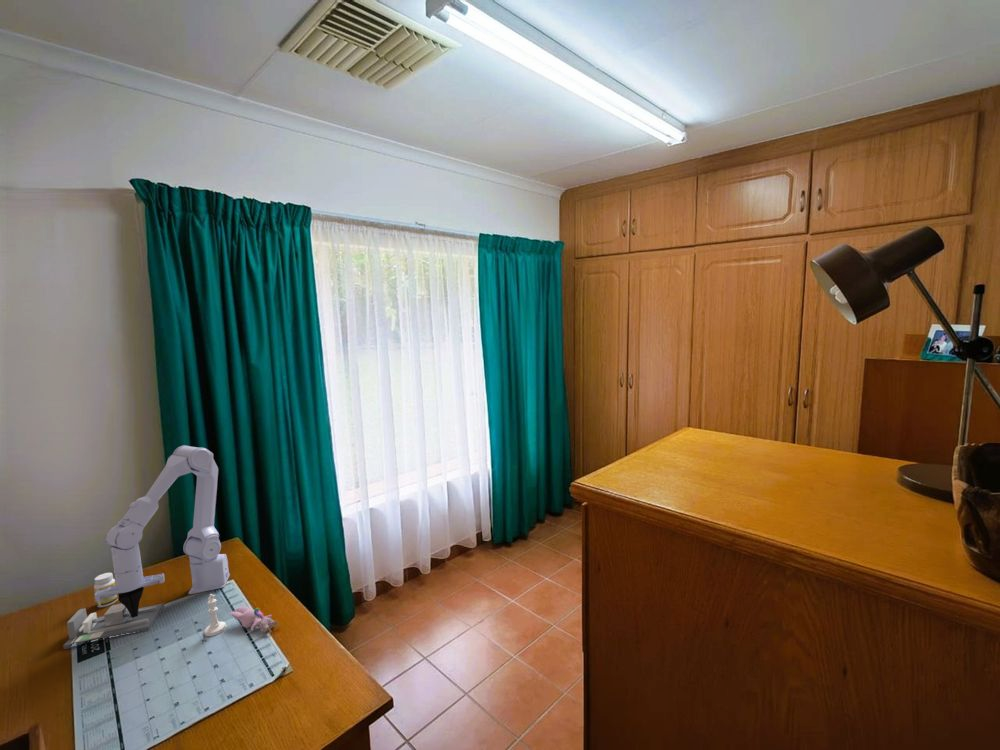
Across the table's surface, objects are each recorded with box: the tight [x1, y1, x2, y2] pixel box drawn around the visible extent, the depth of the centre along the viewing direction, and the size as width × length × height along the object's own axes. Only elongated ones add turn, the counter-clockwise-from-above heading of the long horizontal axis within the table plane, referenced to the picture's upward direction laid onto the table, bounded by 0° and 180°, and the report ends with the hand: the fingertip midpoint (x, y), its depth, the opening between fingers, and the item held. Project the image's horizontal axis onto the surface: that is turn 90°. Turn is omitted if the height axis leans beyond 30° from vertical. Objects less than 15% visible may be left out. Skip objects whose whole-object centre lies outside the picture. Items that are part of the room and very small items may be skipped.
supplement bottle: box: [93, 572, 119, 608], centre depth 133 cm, size 5×5×8 cm
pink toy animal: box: [229, 605, 280, 635], centre depth 119 cm, size 6×6×15 cm
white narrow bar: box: [79, 612, 98, 633], centre depth 118 cm, size 1×7×3 cm, turn 20°
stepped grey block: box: [92, 603, 131, 627], centre depth 121 cm, size 8×4×4 cm, turn 110°
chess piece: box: [204, 593, 227, 637], centre depth 118 cm, size 5×5×10 cm
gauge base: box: [62, 602, 165, 650], centre depth 121 cm, size 18×11×6 cm, turn 110°
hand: (135, 615), depth 123 cm, fingers closed
